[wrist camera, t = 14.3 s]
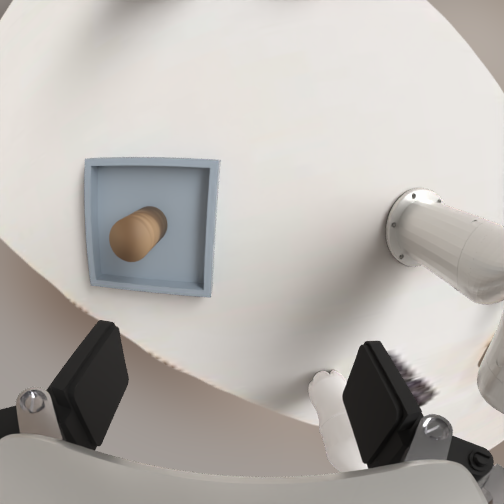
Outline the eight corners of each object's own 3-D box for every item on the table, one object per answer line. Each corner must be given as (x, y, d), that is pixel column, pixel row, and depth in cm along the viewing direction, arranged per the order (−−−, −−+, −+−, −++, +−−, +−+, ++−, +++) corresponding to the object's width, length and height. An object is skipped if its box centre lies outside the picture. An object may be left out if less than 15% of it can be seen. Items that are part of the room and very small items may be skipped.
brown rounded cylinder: (168, 207, 37) (150, 219, 29) (166, 244, 38) (149, 264, 31) (133, 204, 36) (109, 216, 29) (132, 240, 38) (109, 259, 30)
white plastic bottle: (343, 386, 50) (386, 490, 26) (308, 396, 50) (339, 507, 27) (341, 360, 48) (393, 474, 24) (303, 371, 48) (338, 493, 24)
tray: (220, 159, 36) (219, 160, 33) (212, 287, 42) (210, 297, 39) (94, 158, 35) (85, 158, 32) (98, 277, 40) (90, 285, 37)
